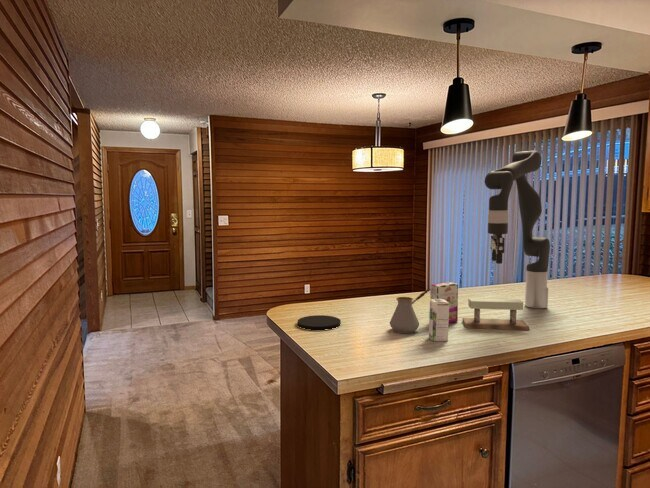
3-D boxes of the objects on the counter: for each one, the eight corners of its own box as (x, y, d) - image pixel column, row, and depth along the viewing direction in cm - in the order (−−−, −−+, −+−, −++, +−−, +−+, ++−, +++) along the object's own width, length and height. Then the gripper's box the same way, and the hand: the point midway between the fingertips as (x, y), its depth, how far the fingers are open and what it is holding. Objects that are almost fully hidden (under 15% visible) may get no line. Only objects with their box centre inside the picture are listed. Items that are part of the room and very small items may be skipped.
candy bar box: (449, 319, 195) (450, 281, 194) (457, 322, 191) (458, 283, 189) (429, 322, 190) (429, 284, 189) (437, 325, 186) (438, 286, 184)
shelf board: (518, 306, 186) (519, 299, 186) (523, 310, 180) (523, 302, 180) (468, 305, 189) (468, 298, 189) (470, 308, 183) (471, 301, 183)
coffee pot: (405, 336, 171) (405, 297, 169) (383, 330, 180) (383, 292, 178) (441, 326, 184) (441, 290, 182) (419, 321, 193) (419, 286, 191)
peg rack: (522, 323, 188) (523, 305, 187) (529, 330, 178) (529, 311, 178) (462, 321, 192) (462, 303, 191) (465, 327, 182) (466, 309, 182)
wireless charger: (336, 318, 198) (336, 314, 198) (344, 330, 181) (344, 325, 181) (295, 320, 195) (295, 316, 195) (300, 332, 178) (300, 327, 178)
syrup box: (428, 337, 170) (428, 298, 169) (443, 336, 171) (444, 298, 169) (433, 341, 164) (433, 302, 163) (448, 341, 165) (449, 301, 164)
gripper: (512, 222, 174) (510, 264, 176) (503, 221, 188) (502, 259, 190) (491, 222, 175) (490, 264, 177) (484, 221, 189) (483, 259, 191)
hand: (496, 262), depth 183 cm, fingers open, 8 cm apart
